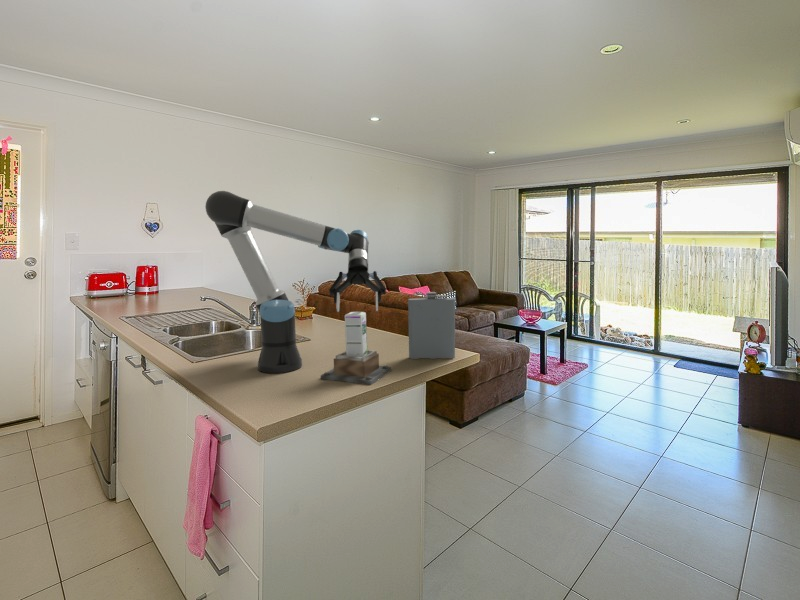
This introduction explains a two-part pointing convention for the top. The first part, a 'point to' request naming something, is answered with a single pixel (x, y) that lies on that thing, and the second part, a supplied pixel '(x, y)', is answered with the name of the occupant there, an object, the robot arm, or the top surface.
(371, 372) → the assembly base
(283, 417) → the top surface
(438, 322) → the tall gray carton
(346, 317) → the syrup box
